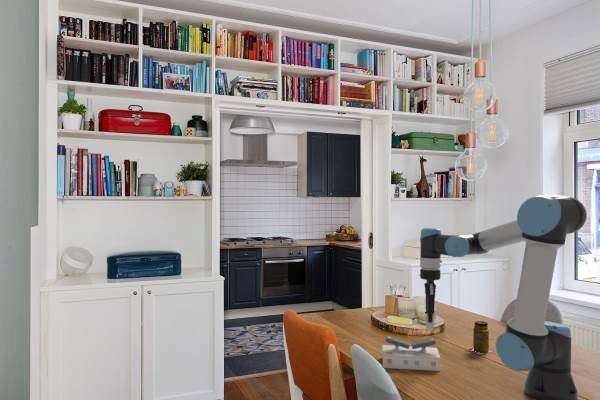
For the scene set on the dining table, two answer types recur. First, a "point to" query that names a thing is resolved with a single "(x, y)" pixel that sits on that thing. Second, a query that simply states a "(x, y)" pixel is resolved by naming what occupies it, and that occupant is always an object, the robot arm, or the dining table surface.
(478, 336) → the condiment
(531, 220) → the robot arm
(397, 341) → the rocker
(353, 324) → the dining table surface
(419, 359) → the switch unit
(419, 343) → the rocker
